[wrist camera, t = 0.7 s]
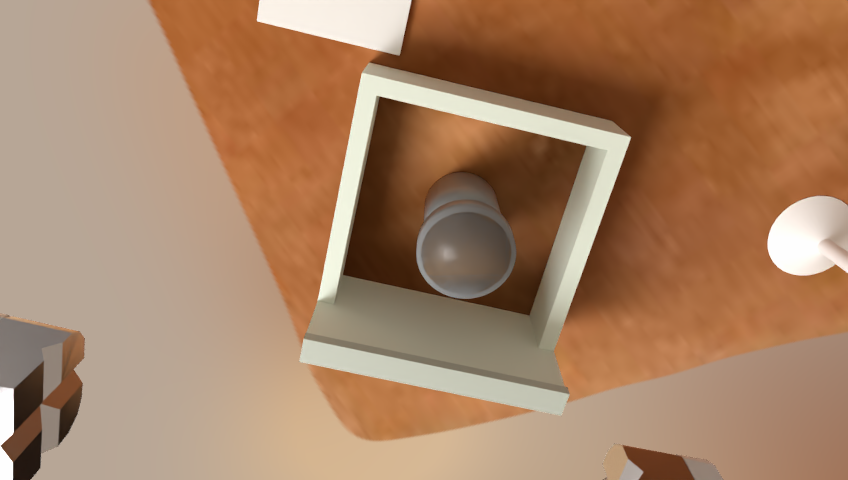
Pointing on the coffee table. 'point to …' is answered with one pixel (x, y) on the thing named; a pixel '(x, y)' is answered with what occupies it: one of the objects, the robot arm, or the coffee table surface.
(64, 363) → the robot arm
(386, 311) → the frame
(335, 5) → the mat
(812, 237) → the champagne flute
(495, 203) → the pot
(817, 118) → the coffee table surface
